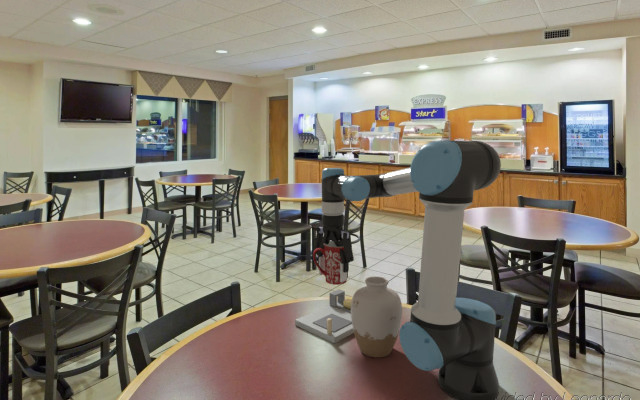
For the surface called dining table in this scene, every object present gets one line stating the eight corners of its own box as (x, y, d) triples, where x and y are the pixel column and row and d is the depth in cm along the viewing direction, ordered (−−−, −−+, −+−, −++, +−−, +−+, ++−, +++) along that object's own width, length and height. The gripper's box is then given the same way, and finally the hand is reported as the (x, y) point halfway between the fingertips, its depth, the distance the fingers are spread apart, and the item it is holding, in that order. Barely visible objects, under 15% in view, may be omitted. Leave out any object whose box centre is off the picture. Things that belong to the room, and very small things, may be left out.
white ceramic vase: (362, 333, 131) (363, 269, 128) (407, 345, 123) (409, 277, 120) (341, 354, 118) (342, 283, 115) (390, 369, 110) (392, 293, 107)
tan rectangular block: (362, 311, 143) (362, 303, 143) (357, 314, 141) (357, 305, 141) (348, 306, 148) (348, 298, 148) (343, 308, 146) (343, 300, 146)
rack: (376, 320, 141) (376, 302, 140) (334, 343, 124) (334, 322, 123) (338, 305, 154) (338, 289, 153) (295, 324, 137) (294, 306, 136)
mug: (348, 277, 137) (349, 240, 135) (349, 286, 128) (350, 247, 126) (313, 276, 138) (313, 240, 136) (312, 285, 129) (312, 246, 127)
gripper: (365, 216, 124) (364, 282, 127) (317, 208, 139) (317, 268, 142) (350, 219, 119) (350, 288, 122) (302, 211, 134) (303, 272, 137)
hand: (332, 277), depth 132 cm, fingers closed on mug, 9 cm apart
